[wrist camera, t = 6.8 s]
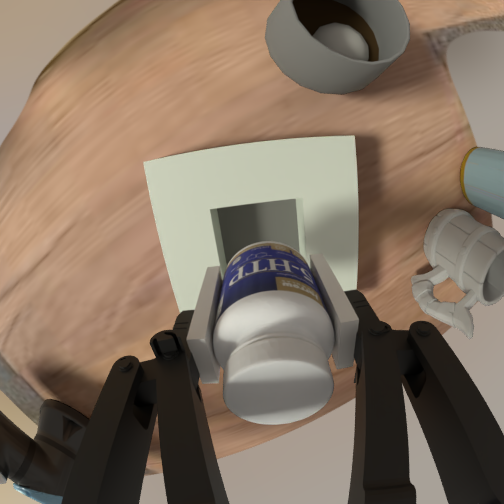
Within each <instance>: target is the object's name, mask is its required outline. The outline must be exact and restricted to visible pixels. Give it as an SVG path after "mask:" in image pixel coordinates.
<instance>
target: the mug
mask: <svg viewBox="0 0 504 504" xmlns="http://www.w3.org/2000/svg"><path fill="white" fill-rule="evenodd" d="M424 252H425V255H426V258H427V259H428V261H429V263H430V265H431V266H432V268H433V270H432V271H430V272H428V273H425V274H422V275H415V276H413V277H412V278H411V281H412V285H413V286H412V293H413V296H414V298H415V300H416V301H417V302H418V303H419V306H420V308H421V309H422V310H423V311H424V312H425V313H426V314H428V315H430V316H432V317H433V318H435V319H438V320H439V321H441V322H444V323H446V324H448V325H450V326H452V327H454V328H455V327H456V328H457V329H459V330H461V331H462V332H463V333H464V334H465V335H466V336H467V338H468V339H471V338H472V337H473V329H474V325H473V317H472V315H471V313H470V311H469V310H470V309H471V308H472V307H473V306H474V304H475V303H476V302H477V301H479V302H480V303H481V304H483V305H485V306H487V305H488V306H489V305H493V304H495V303H496V302H498V301H499V300H500V299H501V298H502V297H503V296H504V238H503V237H502V236H501V235H500V233H499V232H498V231H496V230H495V229H494V228H492V227H490V226H486V225H483V224H481V223H479V222H477V221H476V220H474V218H473V217H472V215H470V214H469V213H468V212H466V211H464V210H461V209H445V210H442V211H440V212H439V213H438V214H437V216H435V217H434V218H433V219H432V220H431V222H430V224H429V226H428V229H427V231H426V234H425V237H424ZM448 277H449V278H451V279H452V280H453V281H454V282H455V283H456V284H457V286H458V287H459V288H460V289H461V290H462V291H463V292H464V293H466V295H465V296H464V298H463V299H462V300H461V301H460V302H458V303H455V302H440V301H438V299H436V298H435V297H434V296H433V288H434V287H433V286H434V285H436V284H439V283H441V282H442V281H444V280H445V279H447V278H448Z"/></svg>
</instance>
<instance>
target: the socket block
mask: <svg viewBox="0 0 504 504" xmlns="http://www.w3.org/2000/svg"><path fill="white" fill-rule="evenodd" d="M143 163H144V168H145V174H146V179H147V184H148V189H149V194H150V199H151V204H152V208H153V213H154V217H155V222H156V226H157V230H158V235H159V239H160V243H161V247H162V251H163V255H164V259H165V262H166V266H167V270H168V273H169V277H170V281H171V284H172V288H173V291H174V294H175V298H176V301H177V305H178V308H179V311H180V313H181V312H182V311H184V310H195V307H196V304H197V300H198V297H199V293H200V290H201V287H202V283H203V280H204V277H205V273H206V270H207V267H213V266H220V269H221V274H222V279H223V278H224V273H225V270H226V267H227V265H228V263H229V262H230V260H231V259H232V258H233V257H234V255H235V254H236V253H238V252H239V251H240V250H242V249H243V248H245V247H246V246H249V245H251V244H254V243H257V242H263V241H274V242H280V243H283V244H286V245H289V246H291V247H292V248H294V249H295V250H297V251H298V252H299V253H300V254H301V255H302V256H303V257H304V258H305V260H306V262H307V263H308V266H309V268H310V255H313V254H321V253H322V254H323V256H324V257H325V259H326V261H327V263H328V264H329V266H330V268H331V270H332V271H333V273H334V275H335V277H336V278H337V280H338V282H339V284H340V285H341V287H342V289H343V291H349V290H355V289H357V271H358V234H359V215H358V179H357V161H356V147H355V136H320V137H304V138H291V139H279V140H269V141H260V142H252V143H244V144H236V145H229V146H223V147H216V148H210V149H204V150H198V151H193V152H188V153H182V154H177V155H172V156H168V157H163V158H158V159H154V160H150V161H146V162H143Z"/></svg>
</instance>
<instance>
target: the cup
mask: <svg viewBox="0 0 504 504" xmlns="http://www.w3.org/2000/svg"><path fill="white" fill-rule="evenodd" d="M265 40H266V43H267V46H268V50H269V53H270V56H271V58H272V59H273V60H274V62H275V63H276V64H277V66H278V67H279V68H280V70H281V71H282V72H283V73H284V74H285V75H286V76H288V77H289V78H291V79H292V80H293V81H295V82H296V83H297V84H299V85H300V86H303V87H306V88H308V89H311V90H314V91H317V92H319V93H327V94H341V95H342V94H346V93H350V92H353V91H357V90H361V89H363V88H364V87H366V86H367V85H368V84H369V83H371V82H372V81H373V80H375V79H376V78H377V77H378V76H379V75H380V74H381V73H382V72H383V71H385V70H386V69H387V68H388V67H389V66H390V65H391V64H392V63H393V62H394V61H395V60H396V59H397V58H398V57H400V56H401V55H402V54H403V53H404V51H405V49H406V47H407V44H408V42H409V40H410V24H409V21H408V18H407V16H406V13H405V11H404V8H403V6H402V5H401V4H400V2H399V1H398V0H280V2H279V3H278V4H277V6H276V7H275V9H274V10H273V12H272V13H271V14H270V16H269V17H268V19H267V26H266V33H265Z"/></svg>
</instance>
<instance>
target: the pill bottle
mask: <svg viewBox="0 0 504 504" xmlns="http://www.w3.org/2000/svg"><path fill="white" fill-rule="evenodd" d="M333 346H334V329H333V325H332V322H331V319H330V316H329V314H328V311H327V309H326V306H325V304H324V301H323V299H322V296H321V294H320V291H319V289H318V287H317V284H316V282H315V279H314V277H313V275H312V272H311V270H310V268H309V266H308V263H307V262H306V260H305V258H304V257H303V256H302V255H301V254H300V253H299V252H298V251H297V250H295V249H294V248H292V247H291V246H289V245H286V244H283V243H280V242H274V241H263V242H257V243H254V244H251V245H249V246H246V247H245V248H243V249H242V250H240V251H239V252H238V253H236V254H235V255H234V257H233V258H232V259H231V260H230V262H229V263H228V265H227V267H226V270H225V273H224V278H223V283H222V288H221V293H220V299H219V305H218V310H217V315H216V321H215V327H214V334H213V349H214V354H215V356H216V359H217V361H218V363H219V364H220V366H221V367H222V368H223V370H224V374H223V399H224V402H225V404H226V406H227V407H228V408H229V410H230V411H231V412H233V413H234V414H235V415H237V416H238V417H240V418H242V419H245V420H247V421H250V422H254V423H259V424H269V425H276V424H286V423H292V422H295V421H299V420H302V419H304V418H307V417H309V416H311V415H313V414H314V413H316V412H317V411H319V410H320V409H321V408H323V407H324V406H325V405H326V403H327V402H328V401H329V399H330V398H331V396H332V393H333V389H334V381H333V377H332V373H331V370H330V367H329V363H328V359H329V357H330V355H331V353H332V350H333Z"/></svg>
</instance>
